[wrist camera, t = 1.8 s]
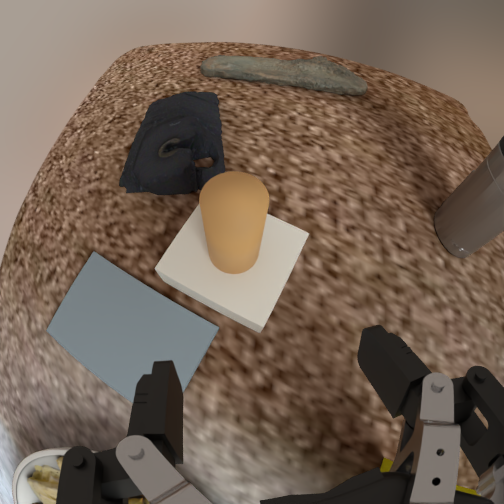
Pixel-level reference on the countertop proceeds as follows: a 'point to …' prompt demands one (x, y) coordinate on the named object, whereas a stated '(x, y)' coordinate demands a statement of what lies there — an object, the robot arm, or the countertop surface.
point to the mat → (127, 328)
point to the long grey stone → (287, 73)
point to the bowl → (45, 478)
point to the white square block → (233, 285)
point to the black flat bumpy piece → (175, 146)
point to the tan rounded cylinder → (234, 220)
